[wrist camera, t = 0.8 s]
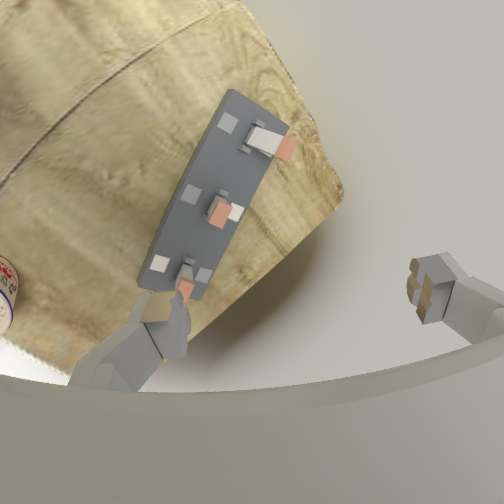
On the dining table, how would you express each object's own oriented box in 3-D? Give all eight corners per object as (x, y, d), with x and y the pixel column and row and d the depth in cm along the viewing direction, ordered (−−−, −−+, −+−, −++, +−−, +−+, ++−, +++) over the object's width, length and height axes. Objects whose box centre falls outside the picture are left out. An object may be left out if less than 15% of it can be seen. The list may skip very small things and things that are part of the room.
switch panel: (136, 280, 49) (140, 292, 46) (227, 89, 42) (238, 89, 39) (196, 294, 56) (203, 305, 54) (283, 125, 49) (295, 127, 47)
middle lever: (205, 211, 47) (208, 222, 40) (214, 192, 47) (219, 200, 39) (216, 216, 48) (222, 229, 41) (225, 198, 47) (233, 207, 40)
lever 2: (240, 141, 44) (280, 158, 40) (250, 123, 44) (291, 138, 40) (247, 146, 46) (287, 162, 42) (256, 128, 45) (297, 143, 41)
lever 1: (174, 276, 50) (173, 298, 42) (182, 259, 49) (181, 279, 42) (185, 281, 50) (185, 303, 43) (193, 264, 50) (194, 285, 42)
